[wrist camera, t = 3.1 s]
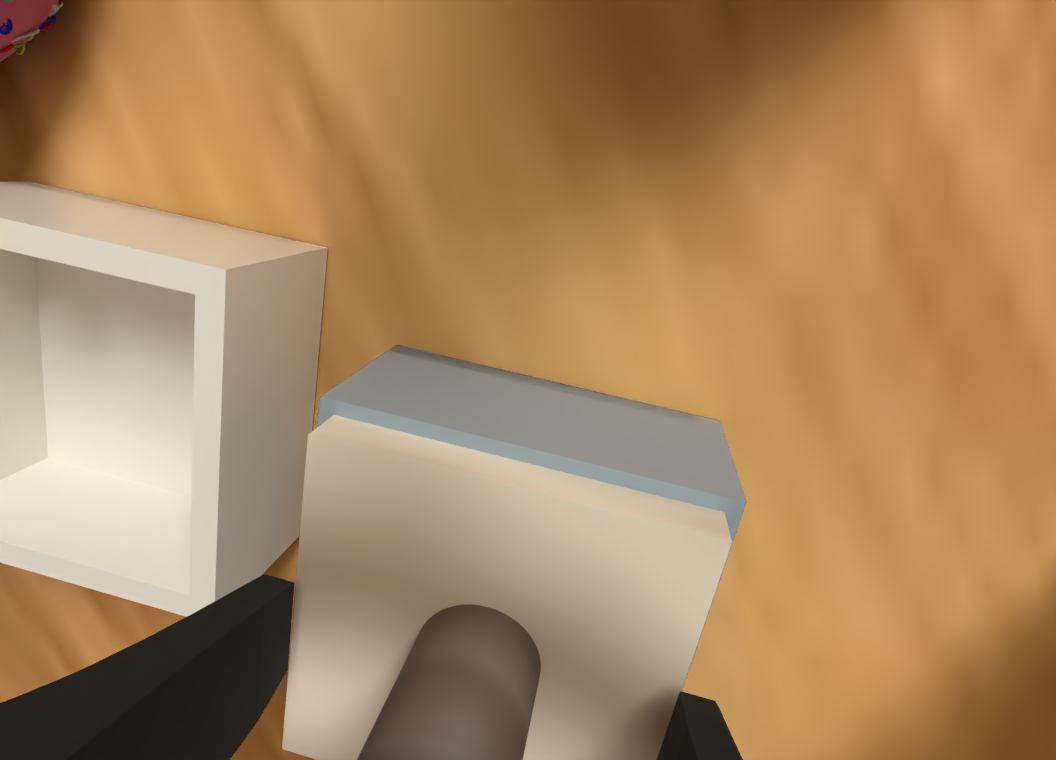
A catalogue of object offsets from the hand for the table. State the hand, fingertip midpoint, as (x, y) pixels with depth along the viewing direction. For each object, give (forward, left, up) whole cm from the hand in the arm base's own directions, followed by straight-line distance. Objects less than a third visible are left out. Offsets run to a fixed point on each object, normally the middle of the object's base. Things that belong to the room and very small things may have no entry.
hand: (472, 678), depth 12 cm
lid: (0, 0, -2) cm, 2 cm away
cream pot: (+2, +10, -6) cm, 12 cm away
